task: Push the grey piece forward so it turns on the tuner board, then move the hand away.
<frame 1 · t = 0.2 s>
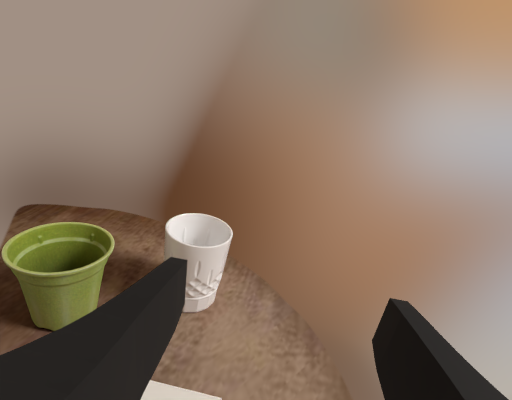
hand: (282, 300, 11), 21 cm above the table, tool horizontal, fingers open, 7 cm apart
plant pot: (65, 311, 34), on the table
white cup: (189, 295, 40), on the table
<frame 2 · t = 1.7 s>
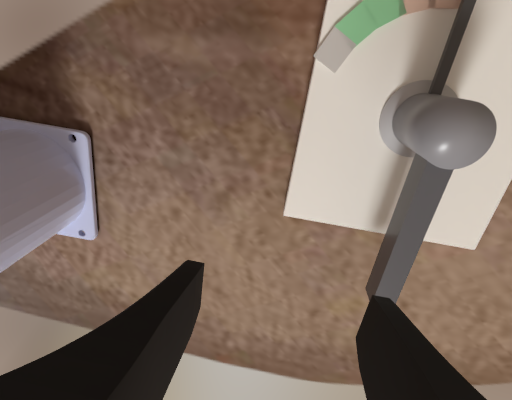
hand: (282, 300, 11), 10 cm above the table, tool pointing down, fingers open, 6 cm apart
grey piece: (424, 158, 15), point 3 cm above the table, hinge at 0.0°
tuner board: (411, 117, 17), on the table
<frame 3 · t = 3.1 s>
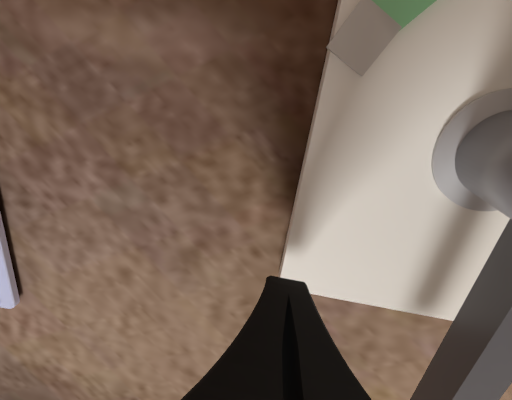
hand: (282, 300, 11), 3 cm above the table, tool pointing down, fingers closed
tuner board: (480, 145, 11), on the table
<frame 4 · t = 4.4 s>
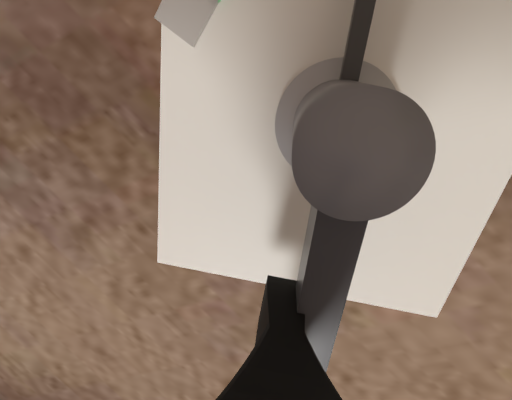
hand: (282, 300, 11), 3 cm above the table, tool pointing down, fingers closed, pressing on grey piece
grey piece: (334, 191, 9), point 3 cm above the table, hinge at 2.9°, touching gripper
tuner board: (332, 119, 11), on the table
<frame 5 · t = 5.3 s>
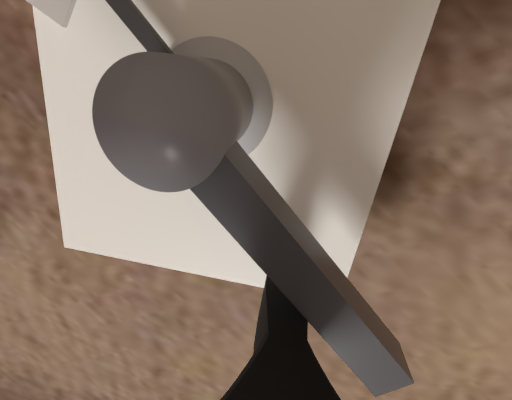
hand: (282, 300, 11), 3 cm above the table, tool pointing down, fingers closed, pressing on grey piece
grey piece: (226, 159, 8), point 3 cm above the table, hinge at 47.4°, touching gripper
tuner board: (219, 102, 11), on the table
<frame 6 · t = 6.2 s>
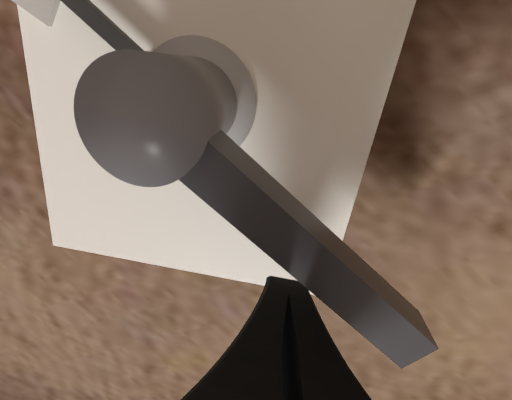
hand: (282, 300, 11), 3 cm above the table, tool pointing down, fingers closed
grey piece: (215, 149, 8), point 3 cm above the table, hinge at 56.0°
tuner board: (205, 100, 11), on the table
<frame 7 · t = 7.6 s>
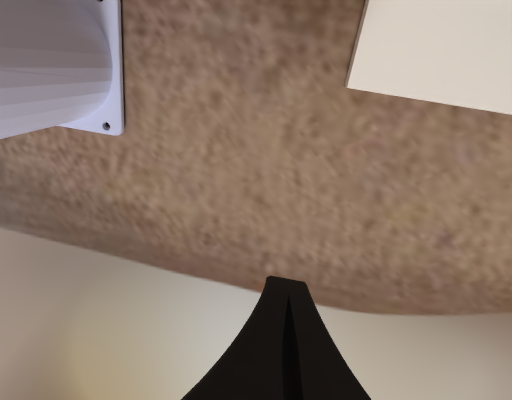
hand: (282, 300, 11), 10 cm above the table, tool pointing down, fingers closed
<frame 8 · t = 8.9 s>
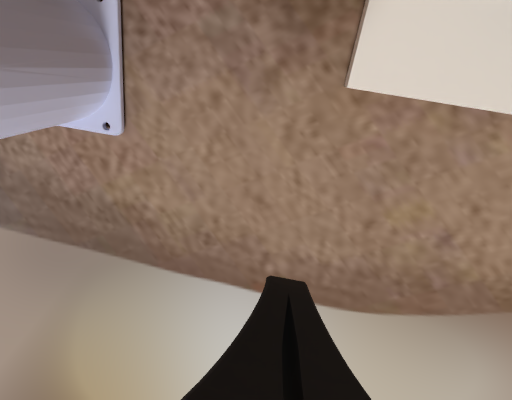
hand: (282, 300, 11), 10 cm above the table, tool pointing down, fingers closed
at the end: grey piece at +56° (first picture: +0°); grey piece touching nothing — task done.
